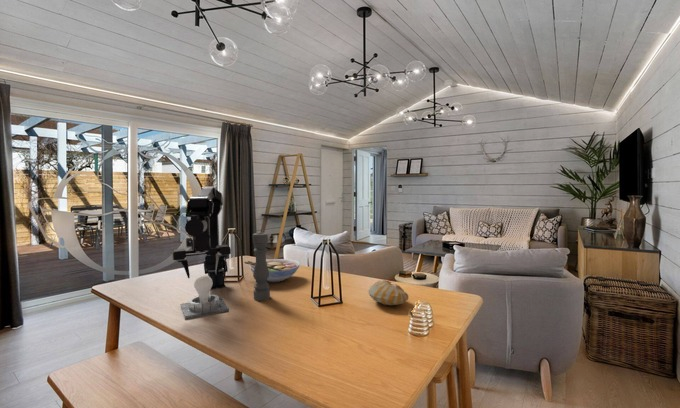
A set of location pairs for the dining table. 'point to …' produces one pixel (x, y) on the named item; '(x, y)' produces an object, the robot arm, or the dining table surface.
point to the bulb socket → (203, 307)
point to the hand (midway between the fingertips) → (202, 276)
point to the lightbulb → (203, 287)
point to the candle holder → (261, 267)
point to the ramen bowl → (278, 269)
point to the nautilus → (387, 293)
